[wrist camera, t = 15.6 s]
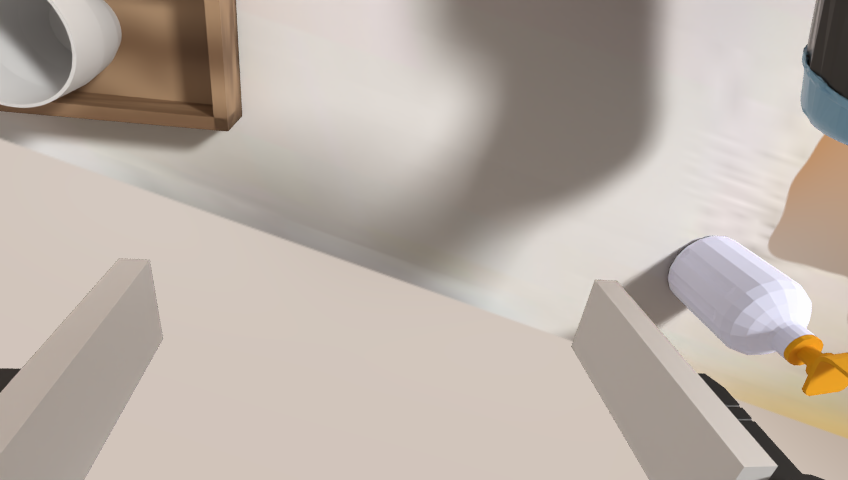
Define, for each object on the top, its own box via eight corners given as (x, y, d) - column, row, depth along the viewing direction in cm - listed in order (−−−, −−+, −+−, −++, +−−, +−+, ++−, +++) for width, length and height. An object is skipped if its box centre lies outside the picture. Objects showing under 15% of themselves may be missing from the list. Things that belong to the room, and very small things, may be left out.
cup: (-1, -11, 34) (-126, -11, 25) (97, -54, 34) (4, -69, 25) (76, 95, 38) (-9, 127, 29) (165, 57, 38) (105, 78, 29)
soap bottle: (660, 302, 58) (836, 488, 36) (674, 238, 53) (884, 407, 32) (728, 293, 58) (940, 471, 37) (747, 229, 54) (1002, 389, 33)
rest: (-3, -75, 33) (-58, -85, 29) (233, -41, 36) (216, -44, 31) (40, 96, 39) (-1, 110, 34) (242, 115, 41) (228, 131, 37)
